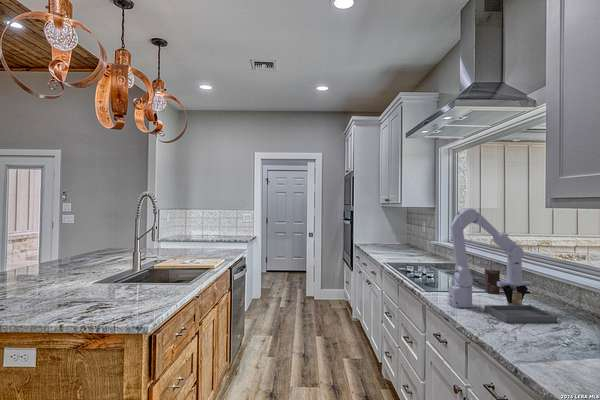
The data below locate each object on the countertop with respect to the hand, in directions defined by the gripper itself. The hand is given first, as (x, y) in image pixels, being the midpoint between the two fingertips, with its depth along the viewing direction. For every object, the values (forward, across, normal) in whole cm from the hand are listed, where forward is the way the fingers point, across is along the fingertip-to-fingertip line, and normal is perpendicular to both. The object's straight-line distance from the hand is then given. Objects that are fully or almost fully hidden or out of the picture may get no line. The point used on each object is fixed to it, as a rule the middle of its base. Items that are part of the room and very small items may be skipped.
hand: (514, 302), depth 163 cm
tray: (+2, -6, -13) cm, 14 cm away
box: (+2, +5, +28) cm, 29 cm away
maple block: (+1, 0, 0) cm, 1 cm away
